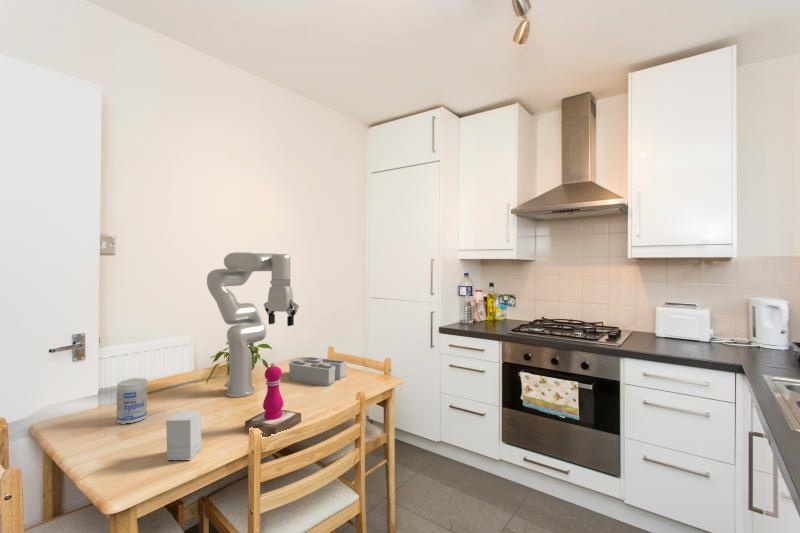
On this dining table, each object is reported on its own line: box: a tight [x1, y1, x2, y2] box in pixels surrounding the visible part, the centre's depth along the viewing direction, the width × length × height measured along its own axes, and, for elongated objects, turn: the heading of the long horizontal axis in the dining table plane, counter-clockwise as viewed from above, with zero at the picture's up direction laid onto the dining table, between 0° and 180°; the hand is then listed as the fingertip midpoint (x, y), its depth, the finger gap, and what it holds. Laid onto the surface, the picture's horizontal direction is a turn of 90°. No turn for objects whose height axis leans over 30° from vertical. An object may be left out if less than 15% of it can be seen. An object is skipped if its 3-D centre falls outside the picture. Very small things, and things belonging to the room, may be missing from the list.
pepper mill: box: [262, 362, 284, 420], centre depth 142 cm, size 7×7×20 cm
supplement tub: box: [116, 377, 148, 425], centre depth 147 cm, size 10×10×15 cm
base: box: [244, 408, 302, 436], centre depth 142 cm, size 14×14×3 cm
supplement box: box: [165, 410, 202, 461], centre depth 121 cm, size 7×7×13 cm
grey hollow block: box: [288, 356, 347, 387], centre depth 199 cm, size 17×28×9 cm, turn 67°
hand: (281, 324), depth 160 cm, fingers open, 9 cm apart
